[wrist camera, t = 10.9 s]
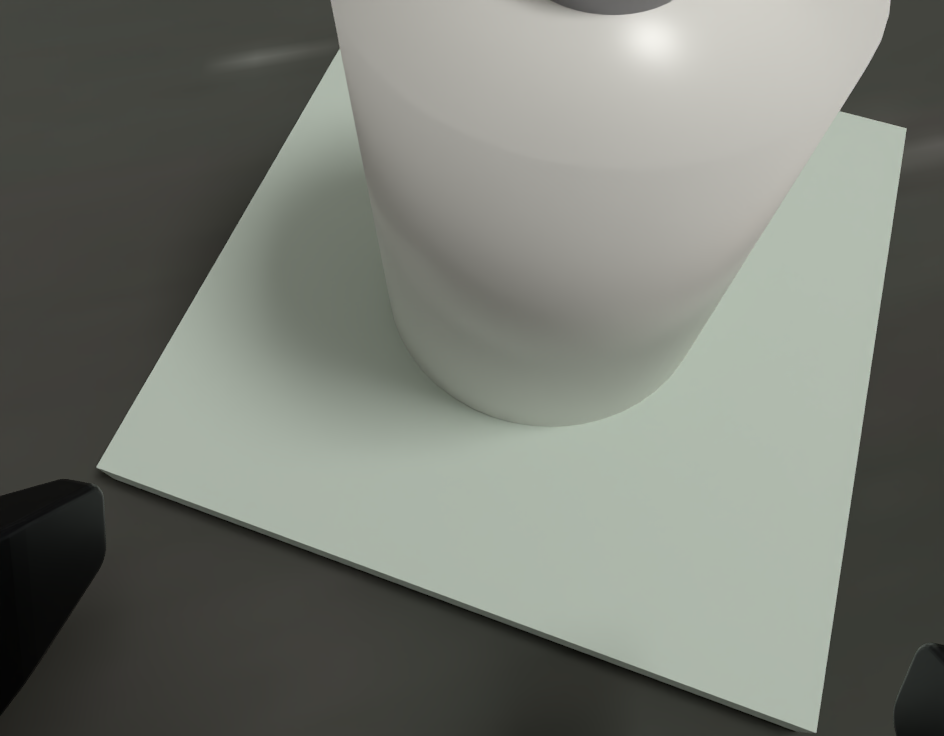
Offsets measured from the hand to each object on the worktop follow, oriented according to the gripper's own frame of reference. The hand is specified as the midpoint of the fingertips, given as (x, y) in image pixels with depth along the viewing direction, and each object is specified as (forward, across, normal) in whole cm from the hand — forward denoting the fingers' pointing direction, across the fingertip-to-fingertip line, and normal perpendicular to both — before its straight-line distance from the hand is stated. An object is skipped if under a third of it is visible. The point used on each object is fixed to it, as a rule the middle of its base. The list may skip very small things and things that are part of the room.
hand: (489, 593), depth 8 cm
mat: (+10, 0, -1) cm, 10 cm away
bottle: (+9, 0, -1) cm, 9 cm away
